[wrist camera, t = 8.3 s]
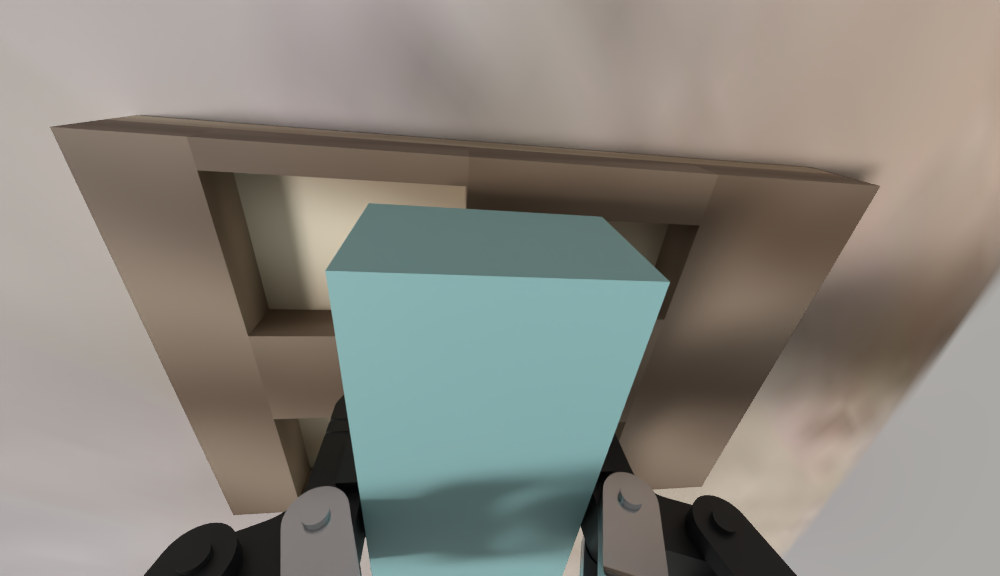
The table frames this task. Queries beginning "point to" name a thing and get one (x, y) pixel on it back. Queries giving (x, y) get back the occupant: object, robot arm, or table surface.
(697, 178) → the slot board
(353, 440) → the panel
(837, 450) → the table surface
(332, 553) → the robot arm
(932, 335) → the table surface
